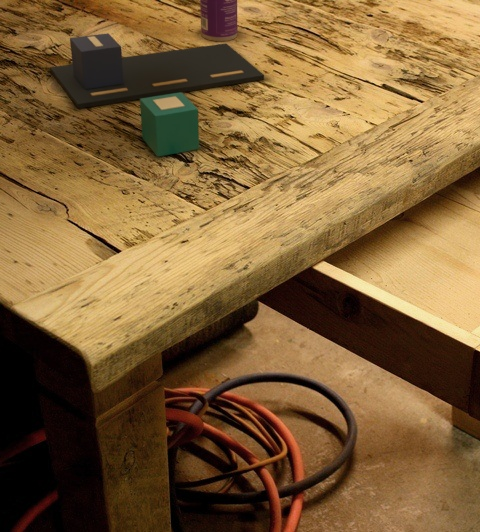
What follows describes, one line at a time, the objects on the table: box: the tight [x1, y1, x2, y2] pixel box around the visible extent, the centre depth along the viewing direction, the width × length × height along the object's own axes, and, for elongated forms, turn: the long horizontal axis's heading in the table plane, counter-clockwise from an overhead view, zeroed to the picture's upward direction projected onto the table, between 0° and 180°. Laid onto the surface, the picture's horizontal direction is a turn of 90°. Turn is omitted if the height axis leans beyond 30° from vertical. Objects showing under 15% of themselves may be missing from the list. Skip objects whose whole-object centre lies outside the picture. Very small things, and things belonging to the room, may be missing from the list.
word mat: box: [49, 43, 265, 109], centre depth 108 cm, size 22×11×1 cm, turn 120°
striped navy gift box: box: [69, 32, 124, 89], centre depth 103 cm, size 4×4×4 cm
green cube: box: [139, 92, 200, 158], centre depth 93 cm, size 4×4×4 cm
